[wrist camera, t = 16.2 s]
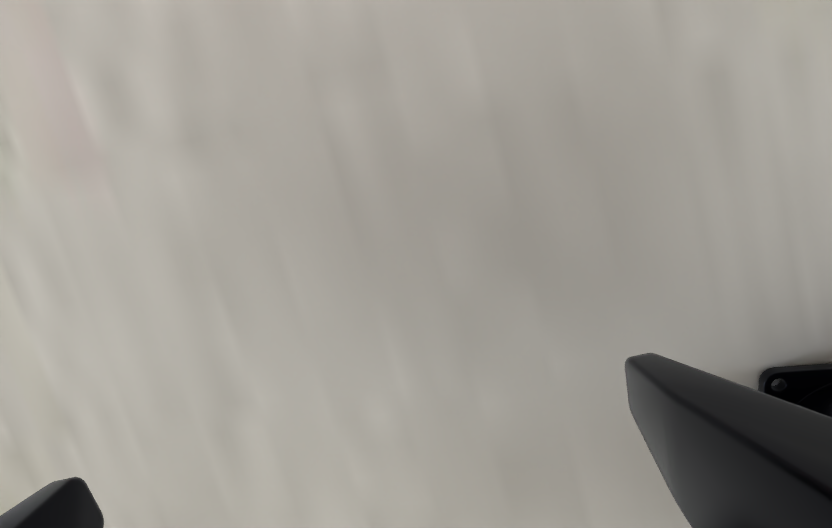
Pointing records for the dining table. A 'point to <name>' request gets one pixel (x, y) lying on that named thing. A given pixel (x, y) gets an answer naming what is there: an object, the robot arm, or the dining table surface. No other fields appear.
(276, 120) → the dining table surface
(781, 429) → the robot arm
